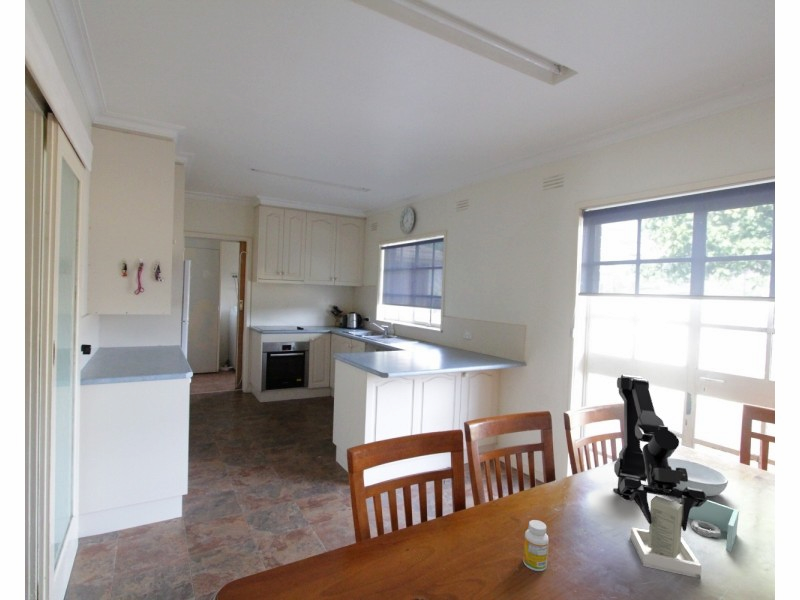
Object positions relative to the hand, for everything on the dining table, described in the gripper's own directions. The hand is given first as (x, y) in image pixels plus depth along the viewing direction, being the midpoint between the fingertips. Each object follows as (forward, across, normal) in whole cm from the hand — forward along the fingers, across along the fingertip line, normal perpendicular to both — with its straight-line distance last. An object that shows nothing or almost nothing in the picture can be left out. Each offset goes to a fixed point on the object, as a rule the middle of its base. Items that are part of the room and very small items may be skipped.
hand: (667, 526), depth 104 cm
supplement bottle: (+16, -32, -4) cm, 36 cm away
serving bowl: (-27, +22, +40) cm, 54 cm away
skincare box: (+4, 0, +6) cm, 7 cm away
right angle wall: (-6, +16, +20) cm, 26 cm away
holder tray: (+5, 0, +7) cm, 8 cm away
